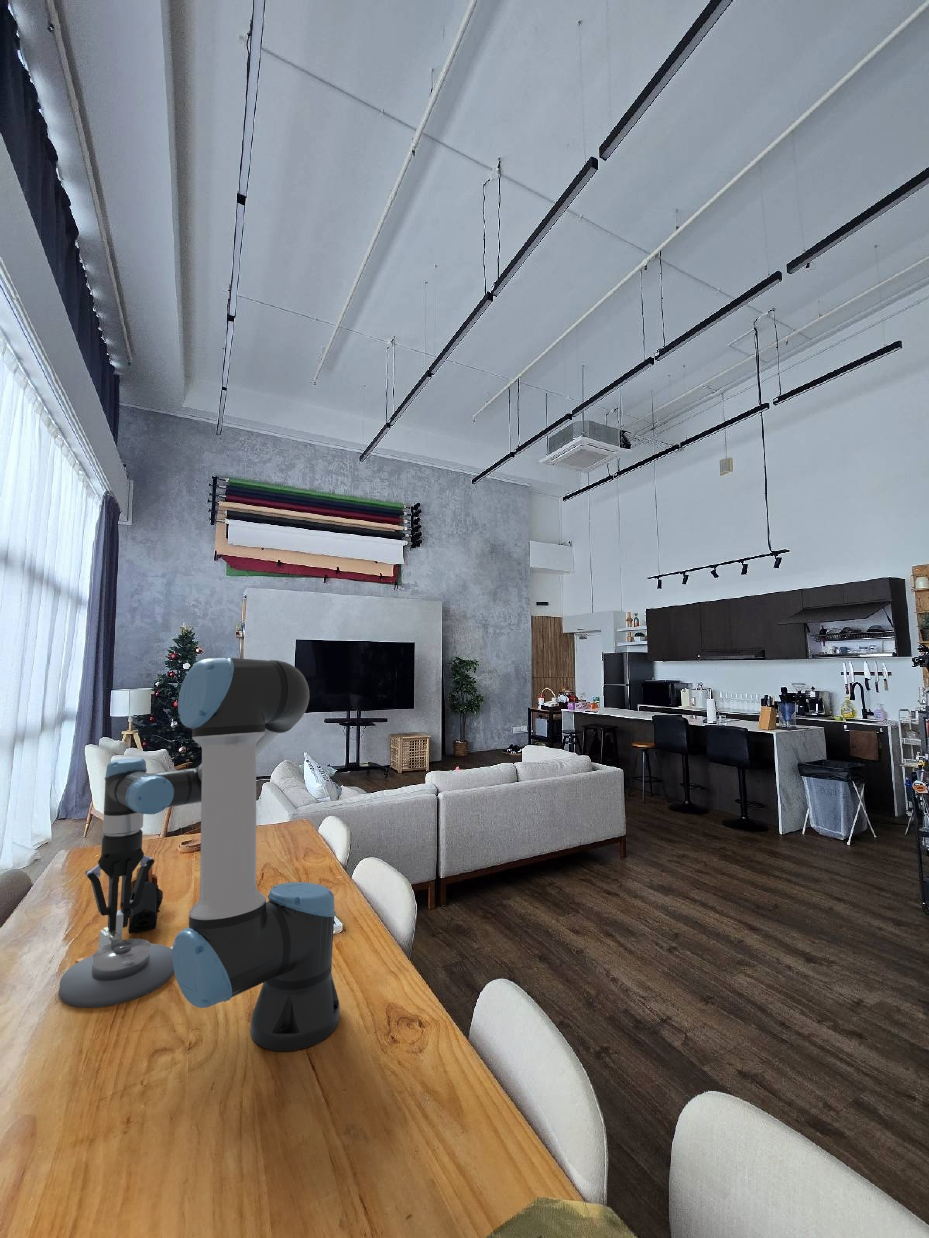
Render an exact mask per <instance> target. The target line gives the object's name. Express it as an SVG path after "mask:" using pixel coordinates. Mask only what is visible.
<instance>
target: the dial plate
mask: <svg viewBox="0 0 929 1238" xmlns="http://www.w3.org/2000/svg"><path fill="white" fill-rule="evenodd" d="M172 949H173V945H172V946H170V947H169V946H166V945H164V944H159V943H151V950H150V961H149V964H148V965H147V966H146V967H145V968H144V969H142V970H140V971H139V972H137V973H134V974H132V975H129V976H126V977H122V978H118V979H110V980H103V979H97V978H95V977H93V976H92V962H93V955H94V954H92V955H90V956H88V957H80V958H78V959H76V960H75V964H73V965H72V966H70V967H69V968H68V969H67V970H66V971H65V972H64V973H63V974H62V976H61V978H60V980H59V985H58V986H59V987H58V988H59V989H58V997H59V1000H61V1002H63V1003H64V1004H66V1005H68V1006H70V1007H73V1008H81V1009H96V1008H97V1009H98V1008H106V1007H110V1006H116V1005H120V1004H124V1003H128V1002H131V1001H134V1000H137V999H138V998H141V997H143V996H147V995H148V994H150V993H152V992H154V991H155V990H158V989H159V988H161V987H162V986H164V985H165V984H166V983H167V982H169V980H170V979H171V978H172V977H173V976H174V975H175V972H174V967H173V960H172Z"/></svg>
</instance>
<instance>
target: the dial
mask: <svg viewBox="0 0 929 1238" xmlns="http://www.w3.org/2000/svg"><path fill="white" fill-rule="evenodd" d="M151 944H152V943H151V942H150V941H149V940H147V939H144V938H128V939H123V936H122V937H121V936H120V935H119V934H117V933H116V932H115V931H109V929H108V926H106V927H103V928H102V929H101V930H99V939H98V948H97V950H96V951H95V952H94V953H93V954H92V955H93V962H92V976H93V977H95V978H97V979H103V980H110V979H118V978H122V977H126V976H129V975H132V974H134V973H137V972H139V971H140V970H142V969H144V968H145V967H146V966H147V965H148V964H149V961H150V950H151Z"/></svg>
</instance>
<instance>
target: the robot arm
mask: <svg viewBox="0 0 929 1238" xmlns="http://www.w3.org/2000/svg"><path fill="white" fill-rule="evenodd" d="M309 687H310V686H309V685H308V682H307V680H306V677H305V676H304V674H303V673H302V672H301V671H300V670H299V668H297V667H295V666H294V665H292V664H291V663H288V662H285V661H282V660H278V659H277V660H275V659H271V660H270V659H269V660H266V659H252V658H237V657H217V658H216V657H213V658H204V659H201V660H199V661H197V662H196V663H194V664H193V666H192V667H190V669H189V670H188V672H187V674H186V675H185V677H184V679H183V681H182V683H181V687H180V691H179V695H178V701H177V711H178V712H177V713H178V715H179V720H180V722H181V724H182V725H183V726H185V728H189V729H192V732H191V733H192V737H191V738H192V740H193V741H194V742H195V743H196V744H198V746H199V747H201V763H199V765H197V767H195V768H194V767H193V768H185V769H178V770H169V771H160V772H150V773H149V772H148V771H147V770H148V769H147V761H146V759H144V758H140V757H139V758H137V757H131V758H130V757H129V758H128V757H127V758H118V759H115V760H112V761H110V762H108V764H107V765H106V771H105V777H104V781H105V782H104V800H103V801H104V802H103V805H104V806H103V819H102V820H103V821H102V822H103V823H102V833H104V834H103V835H102V836H101V849H100V850H101V852H100V854H101V855H100V857H99V858H98V861H97V865H96V866H94V867H93V868H91V869H87V870H86V871H85V874H84V875H85V876H86V878H88V879H89V881H90V883H91V887H92V891H93V894H94V898H95V904H96V908H97V911H98V913H99V914H100V915H101V916H103V917H104V916H107V927H108V929H109V931H115V932H116V933H117V934H119V935H120V936H121V937H122V938H123V932H124V931H123V929H124V928H128V926H129V918H128V915H129V912H130V909H131V908H133V907H136V906H138V905H139V902H140V898H141V895H142V892H143V888H144V885H145V882H146V879H147V875H148V872H149V870H150V868H151V867H152V868H153V866H154V863H155V859H154V858H153V857H151V856H147V855H145V852H144V851H143V834H144V831H143V830H142V828H143V827H144V815H156V814H158V813H161V812H163V811H164V810H166V809H167V808H174V807H178V806H180V807H181V806H185V805H192V804H198V803H200V804H201V805H200V809H201V810H200V861H199V862H200V864H199V867H200V868H199V871H200V872H199V877H200V878H199V899H198V900H197V902H196V903H195V904H194V905H193V906H192V907H191V908H190V910H189V911H188V927H186V928H183V929H182V930H181V931H179V932H178V933H177V934H176V936H175V937H174V941H173V944H172V946H173V949H172V960H173V967H174V972H175V973H174V975H175V978H176V982H177V985H178V987H179V989H180V992H181V993H182V995H183V996H184V998H185V1000H187V1001H188V1003H189V1004H191V1005H192V1006H193V1007H196V1008H198V1009H199V1008H200V1009H208V1008H209V1007H211V1006H215V1005H217V1004H219V1003H222V1002H228V1001H230V1000H231V999H232V998H234V997H236V996H238V995H241V994H242V993H245V992H247V991H249V990H251V989H253V988H255V987H257V986H259V985H261V988H260V992H259V993H258V994H259V995H258V997H257V999H256V1001H255V1002H256V1004H255V1006H254V1008H253V1010H252V1014H251V1019H250V1031H249V1032H250V1037H251V1039H252V1040H253V1042H254V1043H256V1044H257V1045H258V1046H259V1047H261V1048H264V1049H266V1050H271V1051H275V1052H291V1051H298V1050H299V1051H300V1050H303V1049H306V1048H309V1047H310V1048H311V1047H312V1046H315V1045H317V1044H319V1043H320V1042H322V1041H323V1040H325V1039H326V1038H329V1036H331V1034H332V1033H333V1032H334V1031H335V1030H336V1028H337V1027H338V1024H339V1021H340V1011H341V1009H340V1007H341V1005H340V1000H339V997H338V993H337V989H336V985H335V980H334V978H333V973H332V970H333V969H332V967H333V965H332V964H333V947H334V945H333V942H334V941H333V940H334V929H335V928H334V925H335V916H336V911H335V896H334V894H333V892H332V890H330V889H329V888H328V887H326V886H325V885H321V884H318V883H314V882H307V881H306V882H304V881H294V882H293V881H290V882H282V883H279V884H277V885H274V886H273V887H272V888H271V889H270V890H269V893H268V894H267V897H266V896H265V895H264V893H263V894H262V892H260V891H259V890H258V888H257V756H258V755H259V754H260V753H261V752H262V751H263V750H264V749H265V748H266V747H267V746H268V745H269V744H270V743H272V741H273V740H274V739H275V738H276V737H277V736H278V735H279V734H284V733H286V732H289V731H290V730H292V729H293V727H294V726H295V725H297V723H298V722H299V721H300V720H301V719H302V718H303V716H304V715H305V713H306V711H307V708H308V705H309V703H310V702H309V701H310V689H309ZM138 865H140V867H139V868H140V869H139V872H138V876H137V879H136V882H135V885H134V889H133V892H132V895H131V898H130V894H131V880H132V878H133V874H134V873H133V872H134V871H135V870H136V869H137V867H138ZM101 871H103V872H104V873H105V874H106V876H107V877H108V893H107V894H108V896H107V897H108V898H107V904H106V898H105V896H104V895H105V894H104V891H103V887H102V884H101V880H100V876H101V875H102V874H101ZM120 877H121V886H120V887H121V888H120V889H121V890H120V906H119V908H120V909H119V910H118V903H119V902H118V901H119V898H118V897H119V883H120ZM267 898H268V901H267Z"/></svg>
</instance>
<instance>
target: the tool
mask: <svg viewBox="0 0 929 1238" xmlns="http://www.w3.org/2000/svg"><path fill="white" fill-rule="evenodd" d="M139 869H140V867H138V868H136V874H135V875H136V876H135V877H132V879H131V894H130V898H131V895H132V892H133V889H134V885H135V882H136V879H137V876H138V872H139ZM163 896H164V892H163V891H162V889H160V888H159V885H158V876H157V875H156V874H154V873H153V866H152V867H151V868H150V870H149V872H148V875H147V879H146V882H145V885H144V888H143V892H142V895H141V898H140V902H139V905H138V906H136V907H133V908H131V909H130V912H129V915H128V927H127V929H128V935H131V934H132V935H133V934H141V933H146V932H149V931H152V930H156V928H157V923H158V922H157V921H158V920H157V919H158V913H160V910H159V909H160V908H161V905H162V904H163V903H162V902H163V899H164V897H163Z"/></svg>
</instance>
